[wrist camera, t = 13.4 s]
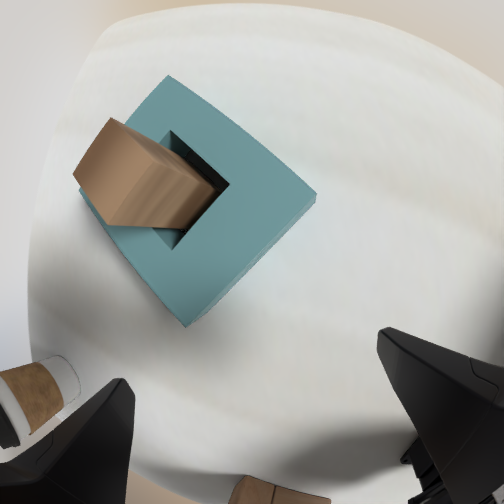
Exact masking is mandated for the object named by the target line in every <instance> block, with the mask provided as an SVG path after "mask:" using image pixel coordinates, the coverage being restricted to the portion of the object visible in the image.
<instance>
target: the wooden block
mask: <svg viewBox="0 0 504 504" xmlns="http://www.w3.org/2000/svg"><path fill="white" fill-rule="evenodd" d="M274 487H275V486H274V485H273V484H271V483H268V482H265V481H262V480H259V479H256V478H253V477H251V476H245V477H244V478H243V479H242V480H241V481H240V482H239V483H238V484H237V485H236V486H235V487H234V490H233V492H232V495H231V497H230V500H229V502H228V504H331V500H330V499H327V498H322V497H317V496H313V495H309V494H305V493H301V492H297V491H293V490H289V489H286V488H282V487H279V486H276V487H275V488H274Z"/></svg>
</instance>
